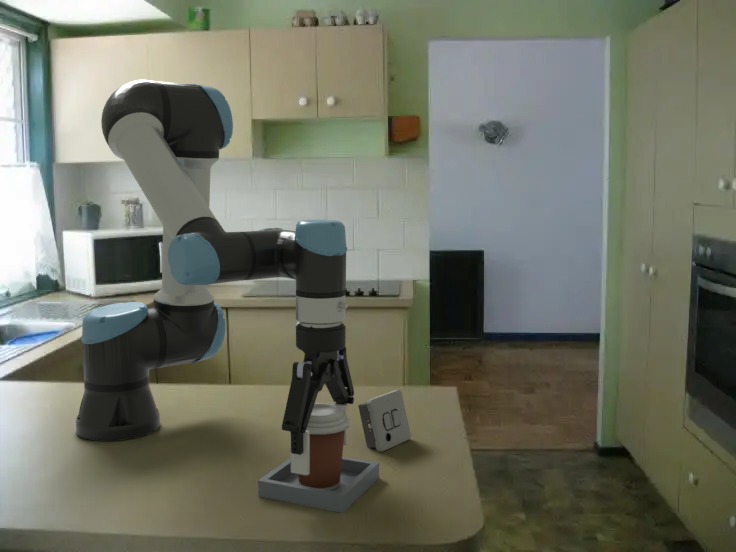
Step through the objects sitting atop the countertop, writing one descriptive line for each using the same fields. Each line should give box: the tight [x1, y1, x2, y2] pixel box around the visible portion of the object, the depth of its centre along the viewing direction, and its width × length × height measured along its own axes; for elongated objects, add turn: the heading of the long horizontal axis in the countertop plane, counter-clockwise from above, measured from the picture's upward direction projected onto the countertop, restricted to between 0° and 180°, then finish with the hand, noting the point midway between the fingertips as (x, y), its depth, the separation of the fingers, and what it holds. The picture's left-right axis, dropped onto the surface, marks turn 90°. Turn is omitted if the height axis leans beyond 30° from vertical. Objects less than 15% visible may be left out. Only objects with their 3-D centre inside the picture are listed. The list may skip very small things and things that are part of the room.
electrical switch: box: [357, 389, 412, 453], centre depth 138 cm, size 9×5×9 cm, turn 141°
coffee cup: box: [298, 402, 350, 491], centre depth 117 cm, size 9×9×12 cm
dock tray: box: [257, 456, 380, 514], centre depth 118 cm, size 14×14×2 cm
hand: (320, 457), depth 118 cm, fingers open, 13 cm apart
